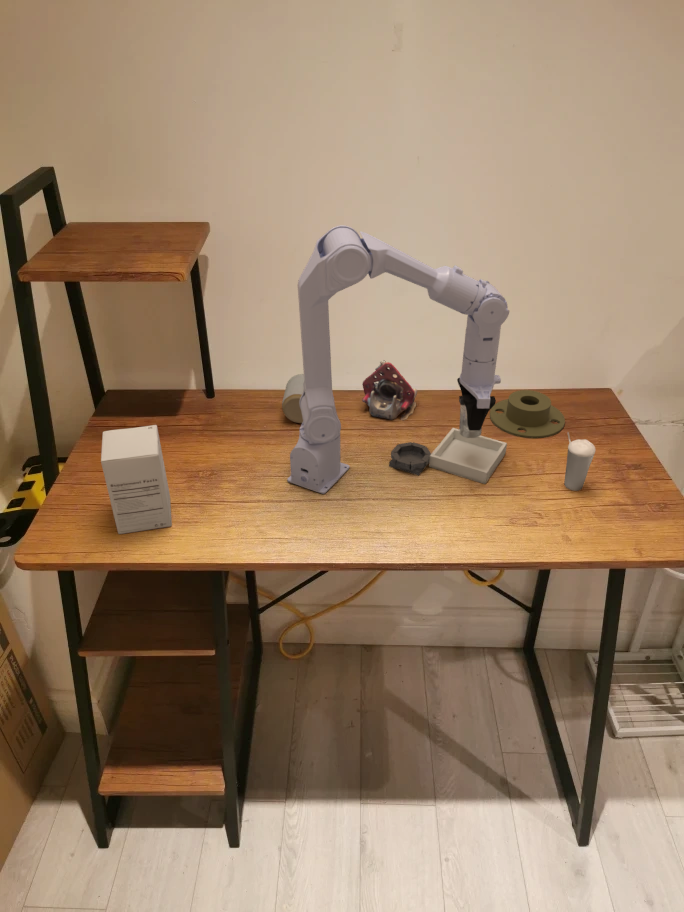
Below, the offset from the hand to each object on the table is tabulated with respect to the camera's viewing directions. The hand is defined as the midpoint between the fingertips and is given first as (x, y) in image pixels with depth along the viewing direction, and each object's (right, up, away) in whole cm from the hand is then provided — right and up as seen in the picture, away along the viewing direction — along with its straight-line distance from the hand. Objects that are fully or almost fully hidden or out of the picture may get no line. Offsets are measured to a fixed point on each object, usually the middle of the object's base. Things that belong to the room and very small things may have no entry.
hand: (472, 422), depth 131 cm
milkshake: (+17, -11, -1) cm, 21 cm away
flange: (+14, +1, +17) cm, 23 cm away
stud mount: (-11, -7, +4) cm, 14 cm away
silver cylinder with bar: (0, -2, +1) cm, 2 cm away
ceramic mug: (-31, +2, +19) cm, 36 cm away
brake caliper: (-14, +4, +21) cm, 25 cm away
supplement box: (-57, -16, -8) cm, 60 cm away
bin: (0, -7, +5) cm, 8 cm away
